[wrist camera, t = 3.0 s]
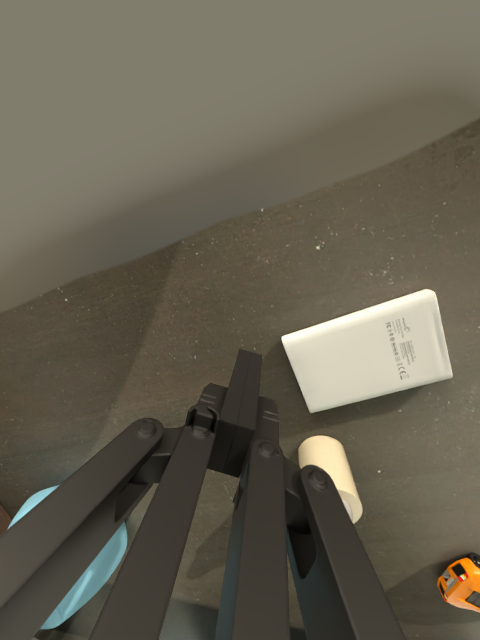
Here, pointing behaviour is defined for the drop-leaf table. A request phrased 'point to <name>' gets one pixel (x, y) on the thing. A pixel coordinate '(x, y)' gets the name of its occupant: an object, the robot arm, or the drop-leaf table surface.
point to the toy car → (462, 583)
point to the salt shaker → (333, 469)
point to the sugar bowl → (94, 573)
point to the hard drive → (370, 352)
